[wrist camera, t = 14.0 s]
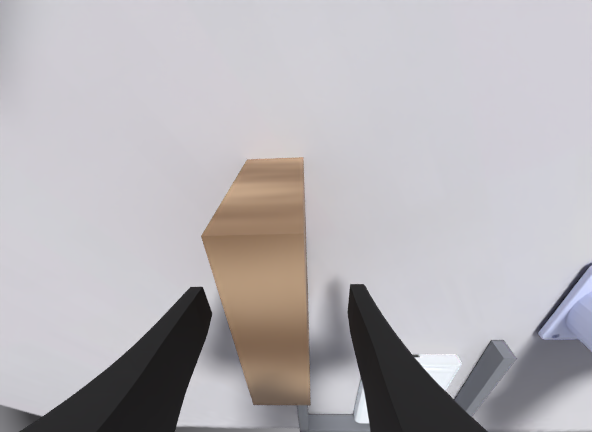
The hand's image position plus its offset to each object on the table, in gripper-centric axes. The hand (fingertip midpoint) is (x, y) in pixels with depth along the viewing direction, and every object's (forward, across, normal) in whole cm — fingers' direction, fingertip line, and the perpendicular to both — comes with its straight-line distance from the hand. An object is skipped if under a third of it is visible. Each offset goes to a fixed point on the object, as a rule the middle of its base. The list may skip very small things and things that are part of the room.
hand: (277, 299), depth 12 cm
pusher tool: (+5, 0, 0) cm, 5 cm away
